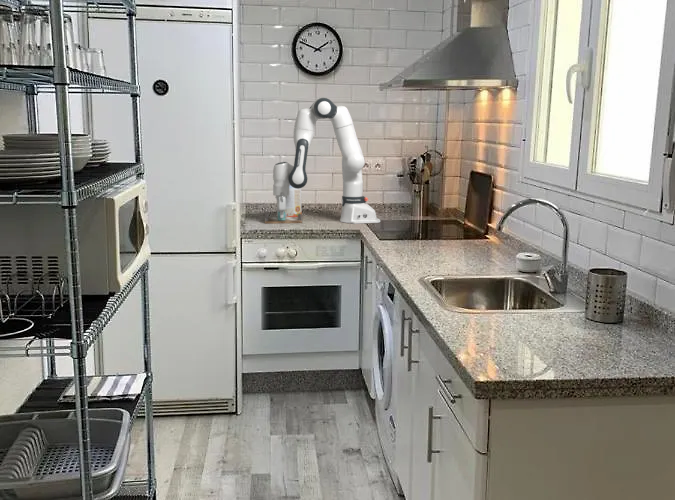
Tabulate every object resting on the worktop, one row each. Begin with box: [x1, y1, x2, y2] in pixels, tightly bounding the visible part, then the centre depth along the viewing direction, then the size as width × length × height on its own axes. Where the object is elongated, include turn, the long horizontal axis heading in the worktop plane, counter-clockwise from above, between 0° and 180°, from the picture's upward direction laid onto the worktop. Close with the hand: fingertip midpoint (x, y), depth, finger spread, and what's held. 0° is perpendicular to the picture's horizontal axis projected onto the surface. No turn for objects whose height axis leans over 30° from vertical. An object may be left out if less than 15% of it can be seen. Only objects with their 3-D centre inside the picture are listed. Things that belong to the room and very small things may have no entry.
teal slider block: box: [278, 212, 285, 220], centre depth 385 cm, size 4×5×4 cm
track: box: [264, 211, 303, 225], centre depth 386 cm, size 20×10×6 cm, turn 97°
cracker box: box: [276, 185, 303, 217], centre depth 403 cm, size 14×6×21 cm, turn 130°
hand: (281, 217), depth 385 cm, fingers closed on teal slider block, 5 cm apart
